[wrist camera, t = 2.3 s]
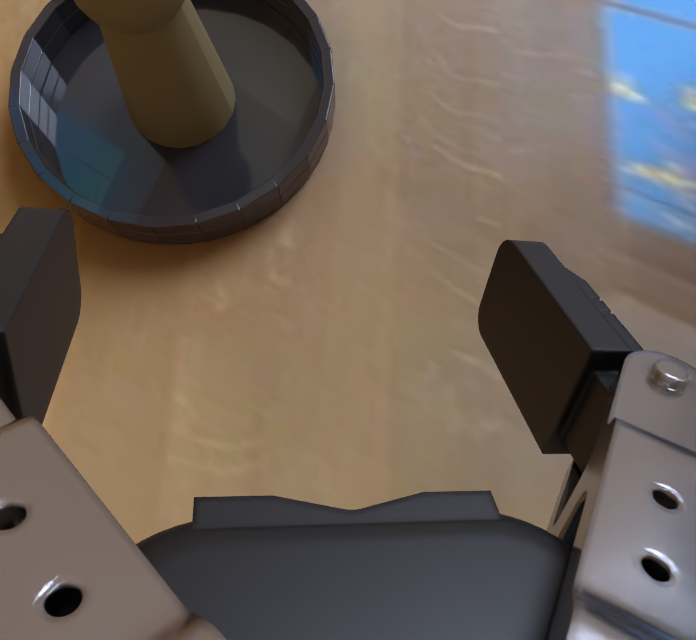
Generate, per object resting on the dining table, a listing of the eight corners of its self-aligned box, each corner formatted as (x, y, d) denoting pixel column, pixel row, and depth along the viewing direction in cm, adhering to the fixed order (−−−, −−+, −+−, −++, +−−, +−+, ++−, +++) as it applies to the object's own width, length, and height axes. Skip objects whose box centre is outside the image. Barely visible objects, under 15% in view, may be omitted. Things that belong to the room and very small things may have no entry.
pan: (129, -58, 38) (115, -93, 36) (382, 43, 36) (385, 12, 34) (-29, 168, 34) (-57, 145, 32) (247, 295, 32) (240, 280, 30)
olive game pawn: (106, 113, 35) (1, -52, 24) (172, 38, 36) (100, -150, 25) (192, 167, 34) (122, 20, 23) (256, 87, 35) (218, -85, 25)
